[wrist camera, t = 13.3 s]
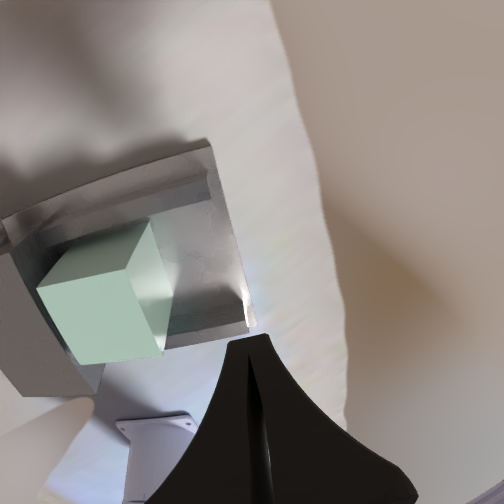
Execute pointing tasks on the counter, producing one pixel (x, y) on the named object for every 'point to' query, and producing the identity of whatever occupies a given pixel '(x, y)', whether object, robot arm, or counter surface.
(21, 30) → the counter surface
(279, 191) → the counter surface
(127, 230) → the pale mint cube
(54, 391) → the motor mount
